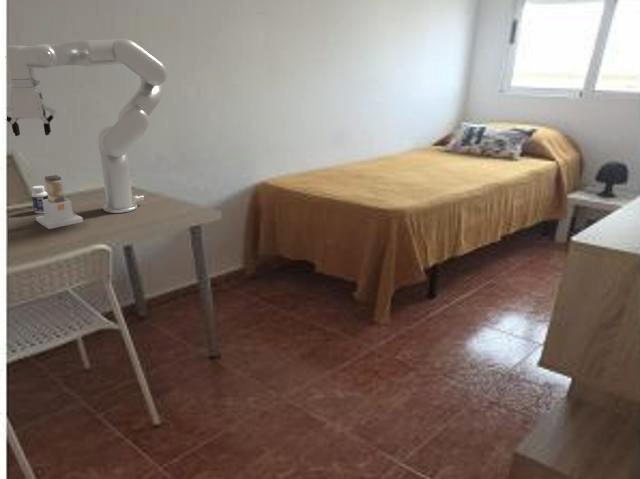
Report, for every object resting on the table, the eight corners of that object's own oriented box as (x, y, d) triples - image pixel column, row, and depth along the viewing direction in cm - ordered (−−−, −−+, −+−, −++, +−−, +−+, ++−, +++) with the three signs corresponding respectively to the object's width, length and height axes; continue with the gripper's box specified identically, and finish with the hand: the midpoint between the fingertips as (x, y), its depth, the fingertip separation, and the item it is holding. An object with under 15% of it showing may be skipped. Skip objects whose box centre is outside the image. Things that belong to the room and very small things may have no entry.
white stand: (70, 214, 201) (66, 191, 198) (83, 221, 193) (79, 197, 190) (36, 220, 193) (32, 197, 190) (48, 229, 185) (44, 204, 182)
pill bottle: (38, 214, 200) (34, 189, 197) (31, 211, 203) (27, 187, 200) (53, 211, 204) (48, 186, 201) (45, 208, 207) (41, 184, 204)
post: (62, 213, 195) (56, 174, 190) (66, 216, 193) (60, 177, 187) (51, 215, 193) (44, 176, 187) (55, 218, 190) (48, 178, 185)
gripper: (53, 83, 185) (61, 132, 191) (-1, 83, 182) (9, 133, 188) (48, 85, 178) (56, 136, 185) (-9, 85, 175) (2, 137, 181)
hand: (32, 135), depth 186 cm, fingers open, 9 cm apart
